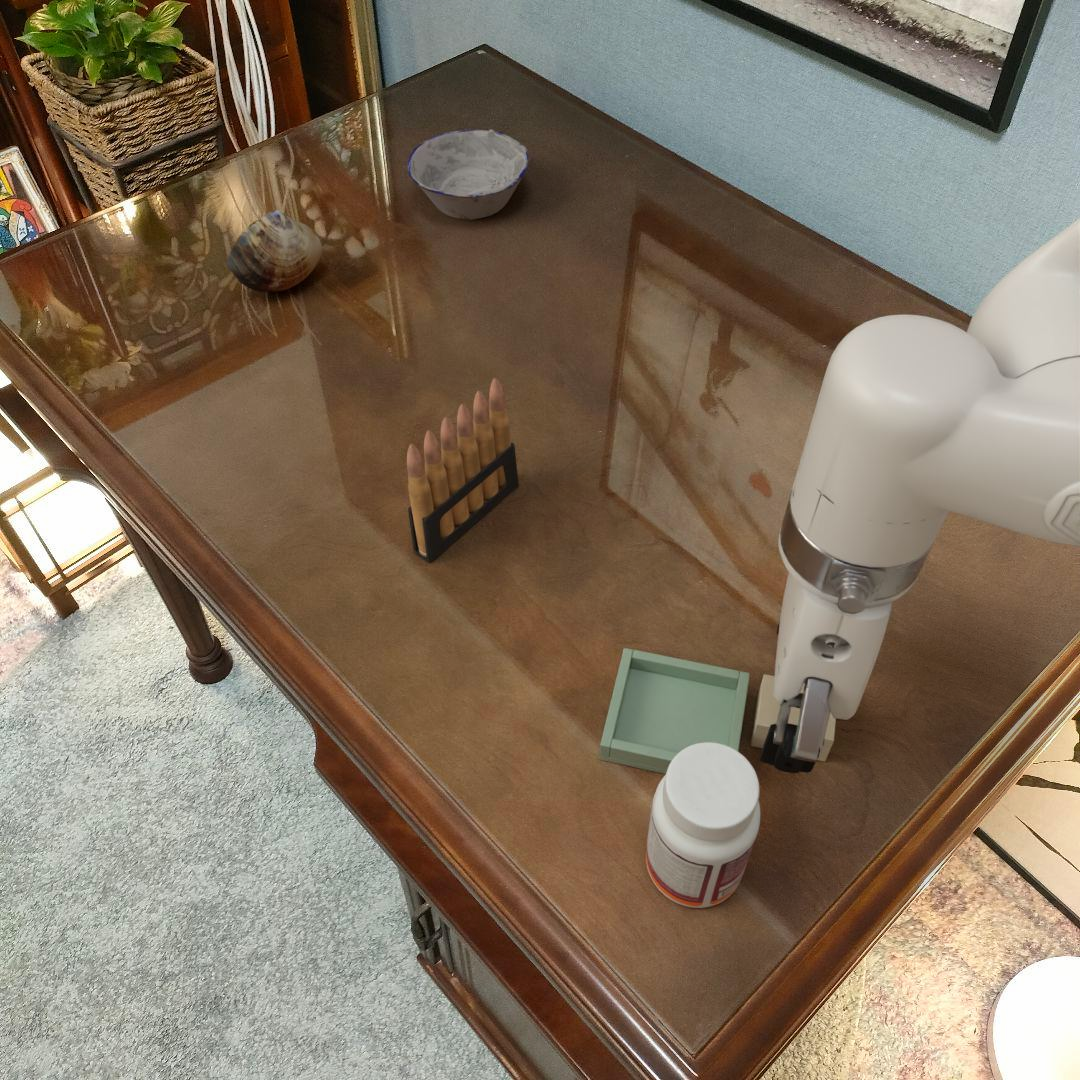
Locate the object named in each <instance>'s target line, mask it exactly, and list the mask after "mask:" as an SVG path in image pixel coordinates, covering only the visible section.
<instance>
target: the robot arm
mask: <svg viewBox="0 0 1080 1080" xmlns="http://www.w3.org/2000/svg"><path fill="white" fill-rule="evenodd" d="M949 513H954V514H957V515H961V516H964V517H967V518H970V519H973V520H977V521H979V522H983V523H986V524H989V525H992V526H995V527H999V528H1002V529H1005V530H1008V531H1010V532H1014V533H1018V534H1021V535H1023V536H1028V537H1029V538H1030V537H1031V538H1034V539H1037V540H1042V541H1046V542H1050V543H1053V544H1058V545H1059V544H1060V545H1065V546H1072V547H1073V546H1074V547H1080V217H1079V218H1078V219H1076V220H1075V221H1073V222H1072V223H1071V224H1069V225H1068V226H1067V227H1065V228H1063V230H1061V231H1060V232H1058V233H1057V234H1056V235H1054V236H1053V237H1052V238H1050V239H1049V240H1047V241H1046V242H1045V243H1044V244H1042V245H1041V246H1040V247H1038V248H1037V249H1035V250H1034V251H1033V252H1032V253H1030V254H1029V255H1028V256H1027V257H1026V258H1024V259H1023V260H1022V261H1020V262H1019V263H1018V264H1016V265H1015V266H1014V267H1013V268H1012V269H1010V271H1008V273H1006V275H1004V276H1003V277H1002V278H1001V279H1000V280H999V281H998V282H997V283H996V284H995V285H994V287H993V288H992V289H990V290H989V292H988V293H987V294H986V295H985V296H984V298H983V299H982V300H981V302H980V303H979V305H978V307H977V308H976V310H975V311H974V312H973V315H972V316H971V319H970V322H969V324H968V327H967V330H966V331H965V330H964V329H962V328H961V327H958V326H956V325H954V324H952V323H950V322H947V321H944V320H942V319H938V318H934V317H931V316H927V315H926V316H925V315H920V314H919V315H918V314H890V315H885V316H879V317H876V318H873V319H870V320H868V321H865V322H863V323H862V324H860V325H858V326H856V327H855V328H853V329H851V331H849V332H848V333H847V334H846V335H845V336H844V337H843V338H842V339H841V341H840V342H839V343H838V344H837V345H836V347H835V349H834V350H833V352H832V354H831V356H830V358H829V361H828V364H827V367H826V370H825V373H824V377H823V380H822V383H821V387H820V391H819V394H818V398H817V400H816V405H815V408H814V411H813V415H812V420H811V421H810V425H809V429H808V433H807V436H806V440H805V443H804V447H803V450H802V454H801V457H800V460H799V463H798V467H797V471H796V474H795V477H794V481H793V485H792V488H791V491H790V494H789V498H788V501H787V505H786V508H785V511H784V515H783V518H782V521H781V526H780V529H779V533H778V540H777V541H778V542H777V544H778V545H777V546H778V552H779V555H780V558H781V562H782V563H783V565H784V567H785V568H786V570H787V571H788V574H787V579H786V582H785V583H786V584H785V587H784V593H783V597H782V605H781V611H780V618H779V621H778V624H777V627H776V628H777V630H776V635H777V643H776V652H775V664H774V675H773V676H774V686H773V696H774V698H775V700H776V701H777V702H778V704H779V705H780V710H779V714H778V718H777V723H776V724H773V725H772V724H771V726H770V728H769V731H768V734H767V737H766V739H765V742H764V745H763V748H761V751H760V756H759V761H760V762H761V763H762V764H766V765H770V766H773V767H774V768H775V769H776V770H777V771H780V772H783V773H788V774H798V773H800V772H801V773H806V774H807V773H808V774H809V773H811V772H812V771H813V769H814V767H815V764H816V762H817V761H818V760H817V758H819V754H820V753H821V750H822V747H823V745H824V739H825V733H826V729H827V725H828V721H829V716H830V712H831V714H832V716H833V718H836V719H838V720H846V721H848V720H850V719H851V718H852V717H854V716H855V714H857V711H858V708H859V706H860V704H861V701H862V698H863V695H864V693H865V691H866V688H867V686H868V682H869V680H870V678H871V675H872V672H873V670H874V667H875V664H876V661H877V659H878V656H879V653H880V651H881V648H882V643H883V641H884V639H885V635H886V631H887V627H888V624H889V620H890V617H891V616H890V615H891V612H892V607H893V603H894V601H896V600H898V599H900V598H902V596H904V595H905V594H907V593H908V592H909V590H911V589H912V587H913V586H914V585H915V583H916V581H917V579H918V578H919V575H920V573H921V571H922V569H923V567H924V565H925V562H926V560H927V558H928V556H929V554H930V552H931V550H932V548H933V546H934V544H935V542H936V540H937V538H938V536H939V534H940V532H941V530H942V528H943V525H944V523H945V521H946V519H947V517H948V515H949ZM803 683H805V686H804V692H803V693H800V691H801V688H802V686H803ZM791 707H796V708H800V714H799V720H798V725H794V724H789V723H788V720H789V715H790V711H791Z"/></svg>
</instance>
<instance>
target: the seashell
mask: <svg viewBox="0 0 1080 1080" xmlns="http://www.w3.org/2000/svg"><path fill="white" fill-rule="evenodd" d="M322 253H323V245H322V242H321V240H320V238H319V237H318V236H317V235H316V234H315V233H314V231H313V230H312V228H311V227H310V226H308V225H307V224H305V223H302V222H299V221H296V220H293V219H292V218H291V217H289V216H287V215H286V214H285V213H283V212H282V211H281V210H280V209H278V210H277V209H276V210H272V211H269V212H267V213H265V214H264V215H262V216H261V217H259V218H258V219H256V220H255V221H253V222H251V224H249V225H248V226H247V227H246V228H245V229H244V230H243V231H242V233H241V234H240V235H239V236H238V237H237V239H236V241H235V243H234V245H233V247H232V249H231V250H230V252H229V254H228V256H227V260H226V261H227V262H226V263H227V264H226V265H227V267H228V269H229V271H230V272H231V273H232V274H233V275H234V277H235V278H236V279H237V280H238V282H239V283H240V284H242V285H243V286H245V287H246V288H247V289H250V290H252V291H255V292H258V293H274V292H275V293H276V292H283V291H286V290H289V289H291V288H294V287H295V286H297V285H298V284H300V283H302V281H304V280H305V279H307V277H309V276H310V274H312V272H313V271H314V269H315V268H316V267H317V265H318V263H319V261H320V259H321V256H322Z"/></svg>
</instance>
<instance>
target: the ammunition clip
mask: <svg viewBox="0 0 1080 1080" xmlns="http://www.w3.org/2000/svg"><path fill="white" fill-rule="evenodd" d="M488 397H489V398H488V401H489V402H487V399H486V397H485V395H484V393H483V392H482V391H481V390H477V391H476V393H475V396H474V399H473V409H472V410H473V411H472V414H473V418H472V416H471V414H470V411H469V408H468V407H467V406H466V404H465V403H461V404H460V405H459V407H458V409H457V416H456V430H455V427H454V425H453V423H452V421H451V419H450V418H449V417H448V416H444V417H443V419H442V421H441V426H440V445H439V441H438V439H437V437H436V436H435V434H434V432H433V431H432V430H431V429H428V430H426V433H425V435H424V440H423V454H424V455H423V457H424V461H423V458H422V455H421V453H420V451H419V449H418V448H417V446H416V445H415V444H414V443H410V444H409V446H408V449H407V452H406V469H407V477H408V479H407V480H408V483H407V491H408V497H409V502H410V506H409V507H408V508H407V513H408V520H409V521H408V522H409V528H410V535H411V541H412V549H413V550H412V551H413V553H414V554H416V555H418V557H420V558H422V559H423V560H425V561H426V562H428V563H433V562H434V561H435V560H437V559H438V558H439V557H440V556H441V555H443V554H444V553H445V552H446V551H447V550H448V549H449V548H450V547H451V546H452V545H454V544H455V543H456V542H457V541H458V540H459V539H460V538H461V537H463V536H465V534H466V533H467V532H468V531H470V530H471V529H472V528H473V527H474V526H475V525H476V524H477V523H478V522H480V521H481V520H482V519H483V518H484V517H486V515H488V514H489V513H490V512H491V511H492V510H493V509H495V508H496V507H497V506H498V505H499V504H500V503H501V502H502V501H503V500H505V499H506V498H507V497H508V496H509V495H510V494H512V492H514V491H515V490H516V489H518V487H519V485H520V484H519V475H518V474H519V473H518V464H517V454H516V446H515V443H514V442H512V441H511V429H510V419H509V416H508V412H507V406H506V399H505V393H504V390H503V387H502V384H501V381H500V380H499V379H498V378H497V377H496V376H495V377H493V379H492V381H491V384H490V388H489V396H488ZM488 403H489V405H488ZM472 419H473V420H472ZM456 431H457V432H456Z"/></svg>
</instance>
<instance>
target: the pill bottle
mask: <svg viewBox="0 0 1080 1080" xmlns="http://www.w3.org/2000/svg"><path fill="white" fill-rule="evenodd" d="M758 778H759V777H758V775H757V772H756V771H755V768H754V766H753V764H752V763H751V762H750V761H749V760H748V759H747V758H746V756H744V755H743V754H742V753H740V751H736V750H735V749H733V748H731V747H729V746H726V745H723V744H719V743H712V742H704V743H697V744H694V745H691V746H688V747H687V748H685V749H683V750H682V751H680V752H679V753H678V754H677V755H676V756H675V757H674V758H673V760H672V761H671V763H670V765H669V767H668V769H667V772H666V774H664V775H663V777H662V779H661V780H660V781H659V783H658V785H657V787H656V789H655V793H654V795H653V797H652V805H651V809H650V815H649V824H648V831H647V839H646V847H645V863H646V869H647V872H648V875H649V877H650V879H651V881H652V883H653V884H654V886H655V887H656V888H657V889H658V891H659V892H661V894H663V896H665V898H667V899H669V900H670V901H672V902H673V903H675V904H678V905H681V906H683V907H688V908H693V909H694V908H695V909H703V908H710V907H714V906H716V905H719V904H721V903H723V902H724V901H726V900H727V899H728V898H730V897H731V895H733V893H735V891H736V890H737V888H738V887H739V885H740V883H741V881H742V878H743V877H744V876H743V875H744V874H745V871H746V868H747V864H748V861H749V859H750V856H751V853H752V850H753V847H754V845H755V841H756V839H757V837H758V834H759V831H760V824H761V805H760V801H759V798H760V782H759V779H758Z"/></svg>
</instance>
